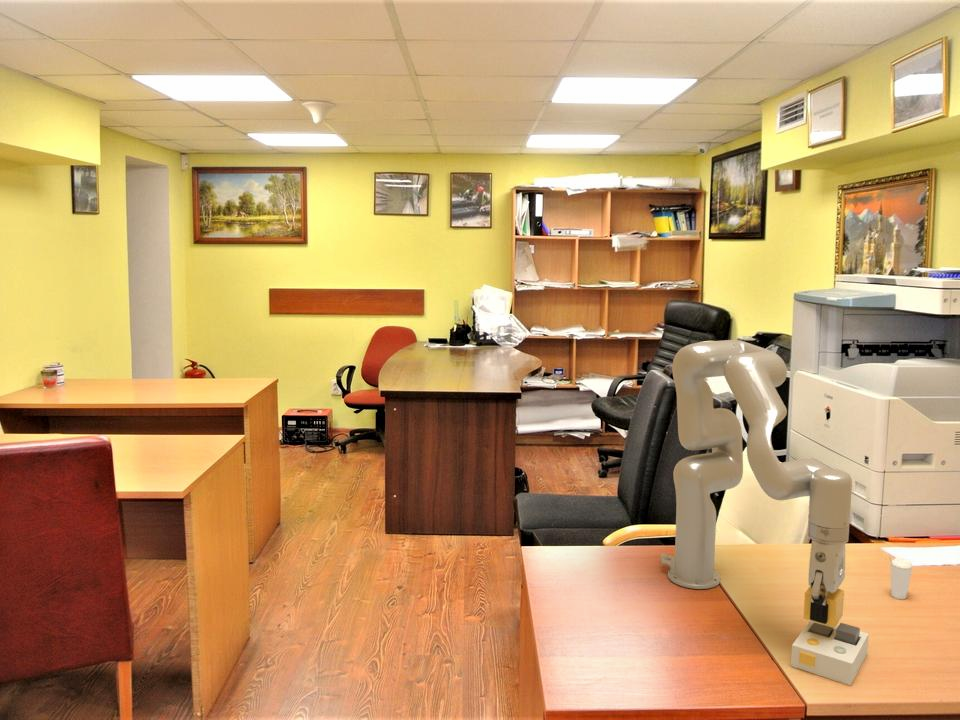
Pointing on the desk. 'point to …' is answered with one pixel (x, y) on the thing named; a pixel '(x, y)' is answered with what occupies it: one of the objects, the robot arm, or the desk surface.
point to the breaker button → (847, 634)
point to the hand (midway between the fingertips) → (823, 614)
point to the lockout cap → (833, 603)
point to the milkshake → (900, 577)
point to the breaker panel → (828, 655)
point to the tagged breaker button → (821, 630)
